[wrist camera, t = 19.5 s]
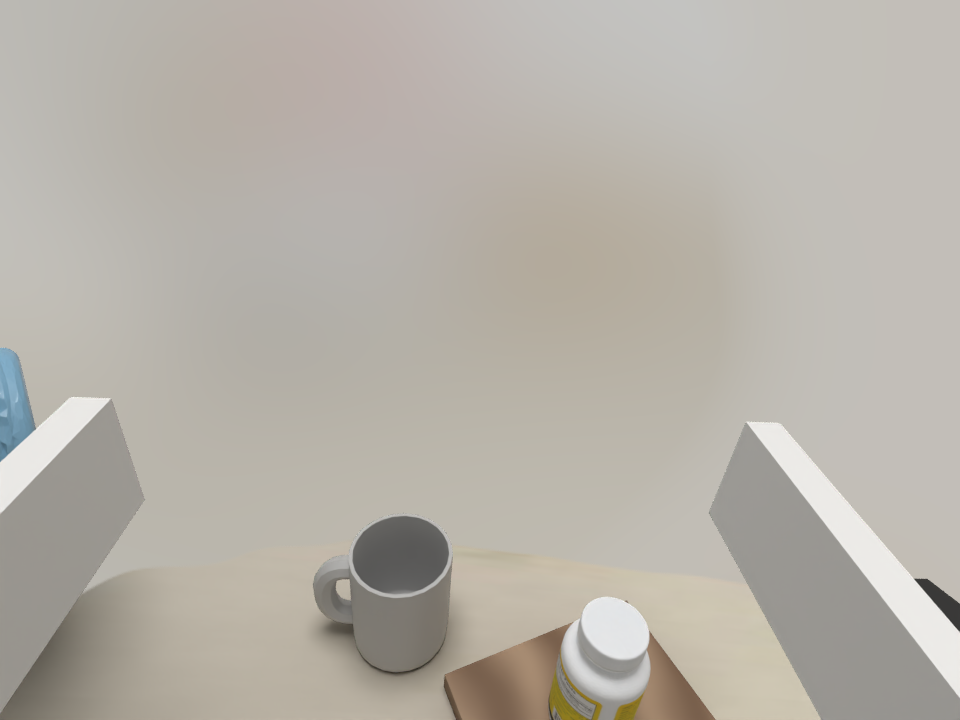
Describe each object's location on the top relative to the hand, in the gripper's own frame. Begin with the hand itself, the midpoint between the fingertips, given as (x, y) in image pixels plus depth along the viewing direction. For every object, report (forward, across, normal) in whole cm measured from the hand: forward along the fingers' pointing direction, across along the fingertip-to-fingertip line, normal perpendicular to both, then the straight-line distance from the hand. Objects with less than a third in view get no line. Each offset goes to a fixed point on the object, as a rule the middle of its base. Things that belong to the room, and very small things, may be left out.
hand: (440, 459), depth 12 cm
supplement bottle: (+10, +11, -31) cm, 34 cm away
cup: (+17, -4, -32) cm, 36 cm away
